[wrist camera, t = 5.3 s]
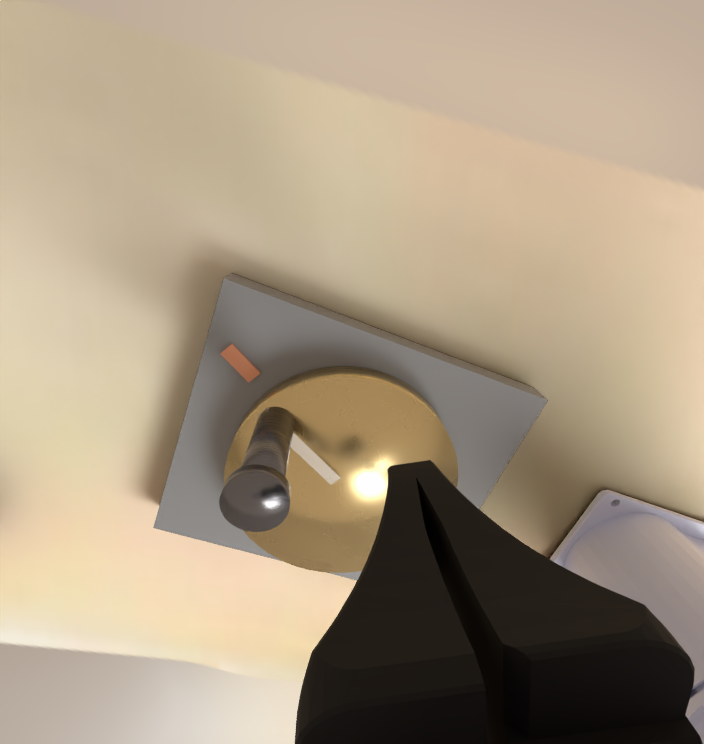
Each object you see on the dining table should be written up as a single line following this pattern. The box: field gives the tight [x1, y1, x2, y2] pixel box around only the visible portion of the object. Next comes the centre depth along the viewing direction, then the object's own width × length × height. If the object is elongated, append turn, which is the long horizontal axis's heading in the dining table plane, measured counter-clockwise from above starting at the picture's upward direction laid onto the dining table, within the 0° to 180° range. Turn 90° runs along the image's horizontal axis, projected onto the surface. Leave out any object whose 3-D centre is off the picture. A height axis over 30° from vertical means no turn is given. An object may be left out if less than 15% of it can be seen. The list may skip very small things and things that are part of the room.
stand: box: [154, 273, 548, 580], centre depth 21 cm, size 16×14×2 cm
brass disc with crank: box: [219, 366, 458, 573], centre depth 17 cm, size 11×11×7 cm
